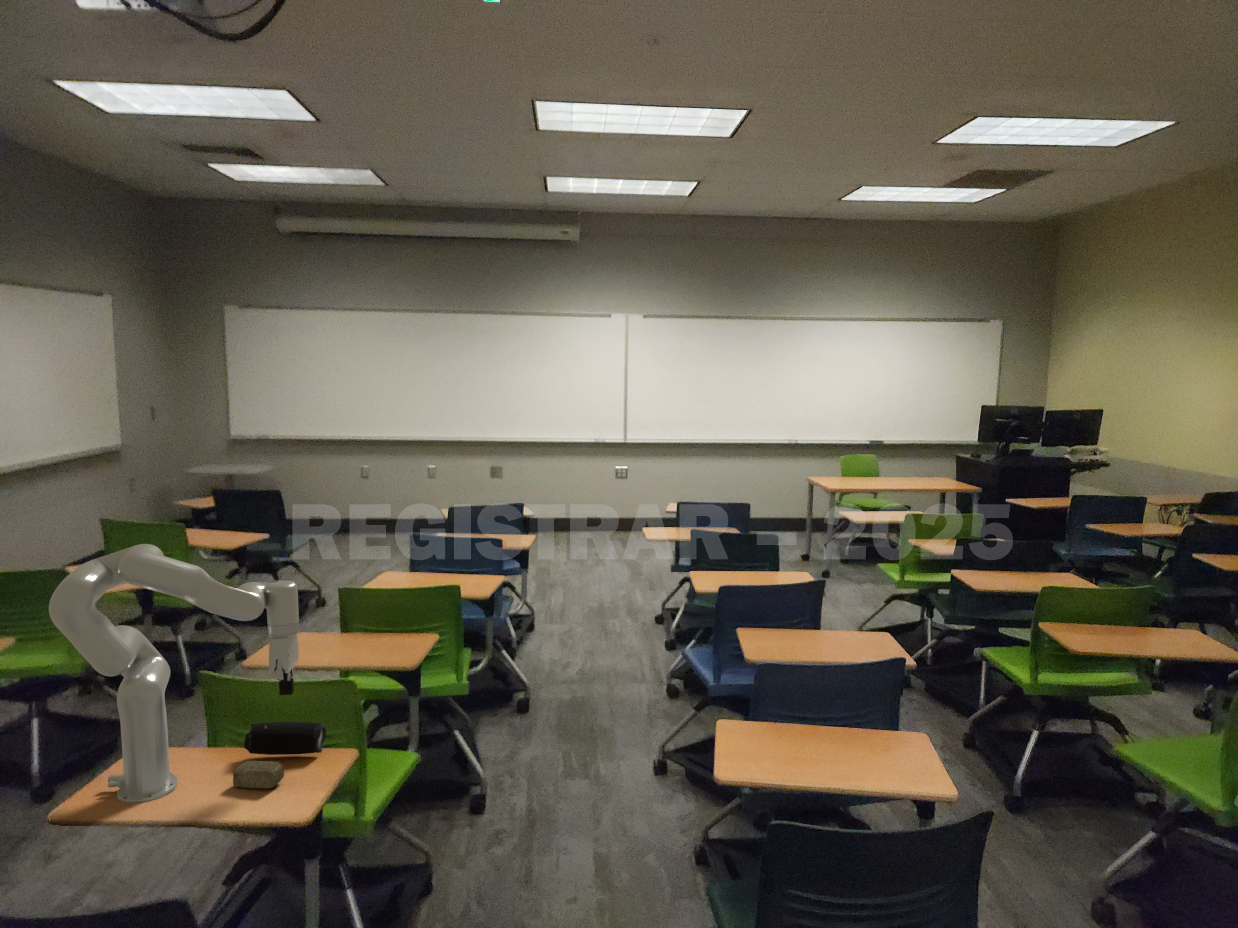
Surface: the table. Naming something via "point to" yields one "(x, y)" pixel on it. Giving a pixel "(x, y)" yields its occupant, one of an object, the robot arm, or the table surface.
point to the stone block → (258, 774)
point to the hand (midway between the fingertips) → (286, 693)
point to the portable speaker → (285, 738)
